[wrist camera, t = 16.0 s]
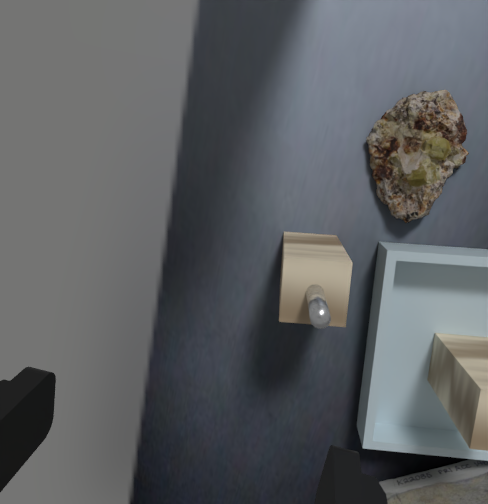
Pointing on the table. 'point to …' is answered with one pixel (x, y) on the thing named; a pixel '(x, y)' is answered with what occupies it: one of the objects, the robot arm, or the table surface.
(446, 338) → the block
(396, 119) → the mineral rock
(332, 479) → the robot arm
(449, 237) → the table surface
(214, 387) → the table surface
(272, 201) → the table surface
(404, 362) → the tray
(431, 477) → the fossil
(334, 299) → the block
